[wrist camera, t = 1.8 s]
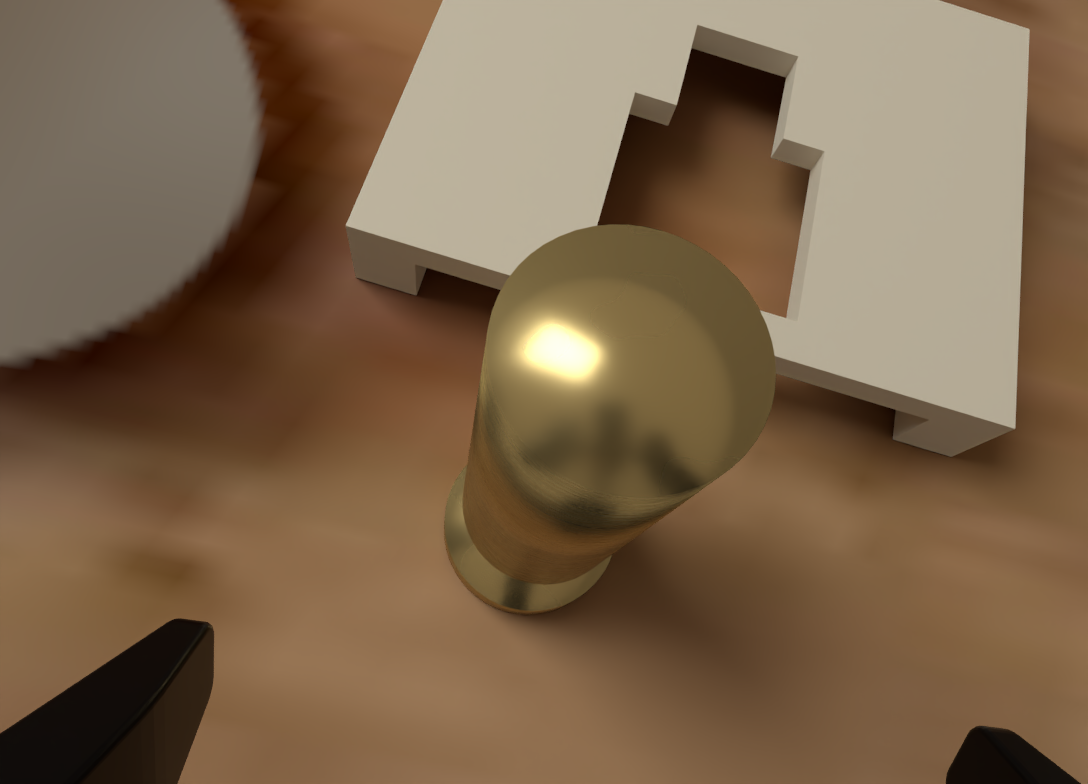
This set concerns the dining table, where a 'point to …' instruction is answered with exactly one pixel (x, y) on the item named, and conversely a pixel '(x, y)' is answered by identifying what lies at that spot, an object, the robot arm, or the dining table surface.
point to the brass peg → (601, 408)
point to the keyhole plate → (801, 139)
